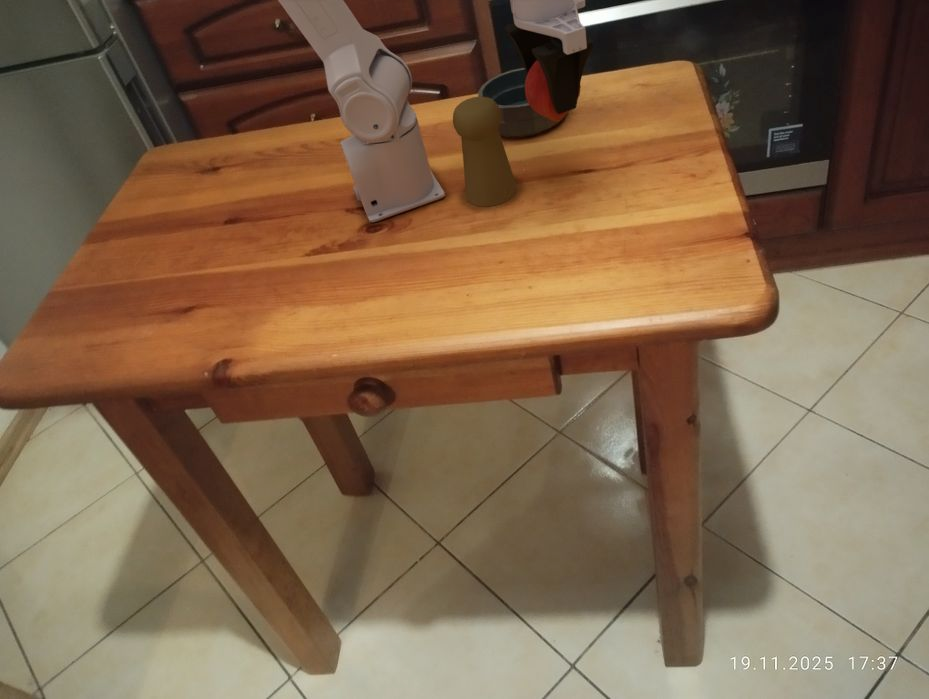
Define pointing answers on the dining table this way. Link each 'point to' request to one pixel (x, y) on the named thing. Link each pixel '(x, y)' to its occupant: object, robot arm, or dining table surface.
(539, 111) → the onion
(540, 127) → the bowl
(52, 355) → the dining table surface
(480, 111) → the olive pawn
